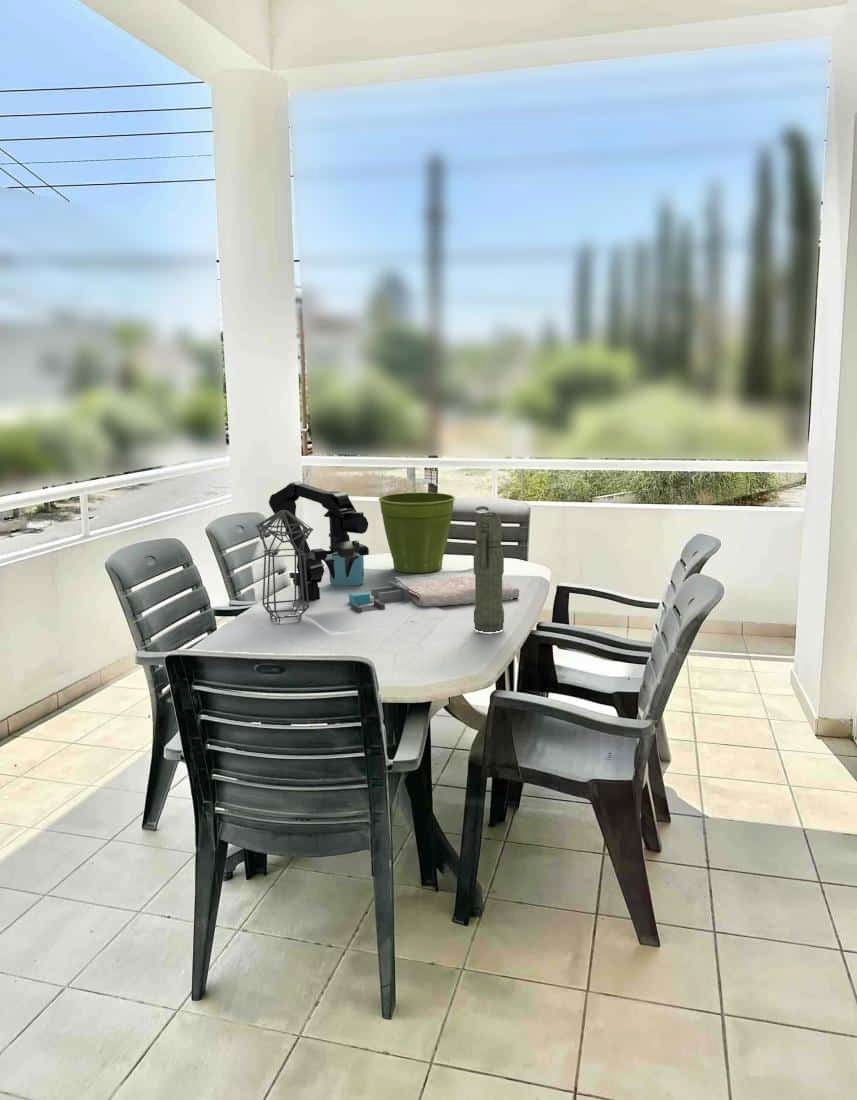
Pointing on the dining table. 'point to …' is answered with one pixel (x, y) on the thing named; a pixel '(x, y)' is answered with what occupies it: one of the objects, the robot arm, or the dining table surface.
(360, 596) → the plug
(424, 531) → the plant pot
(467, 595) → the towel
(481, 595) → the flashlight
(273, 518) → the geometric lantern
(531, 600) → the dining table surface
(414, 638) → the dining table surface
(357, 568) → the data package
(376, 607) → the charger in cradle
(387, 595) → the socket
